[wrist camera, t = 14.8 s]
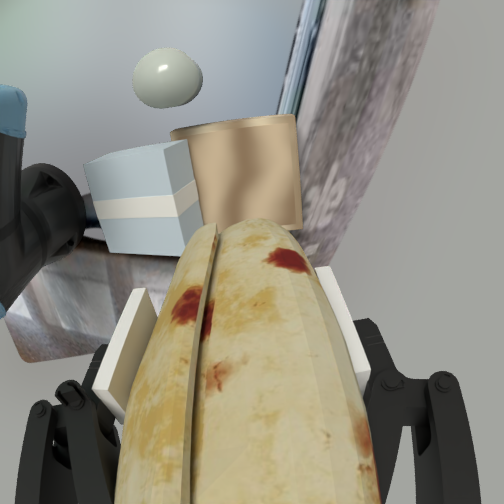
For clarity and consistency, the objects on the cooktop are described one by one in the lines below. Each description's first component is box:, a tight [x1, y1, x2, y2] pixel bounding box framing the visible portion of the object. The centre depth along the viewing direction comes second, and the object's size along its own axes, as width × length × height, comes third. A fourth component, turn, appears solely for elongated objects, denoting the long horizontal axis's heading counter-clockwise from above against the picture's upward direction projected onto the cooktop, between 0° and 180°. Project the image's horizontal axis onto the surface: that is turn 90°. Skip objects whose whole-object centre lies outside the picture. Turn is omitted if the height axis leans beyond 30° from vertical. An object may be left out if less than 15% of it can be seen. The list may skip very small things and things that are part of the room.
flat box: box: [83, 139, 204, 256], centre depth 35 cm, size 12×12×5 cm
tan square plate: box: [170, 114, 303, 234], centre depth 36 cm, size 14×14×3 cm
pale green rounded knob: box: [132, 48, 203, 108], centre depth 28 cm, size 6×6×7 cm
